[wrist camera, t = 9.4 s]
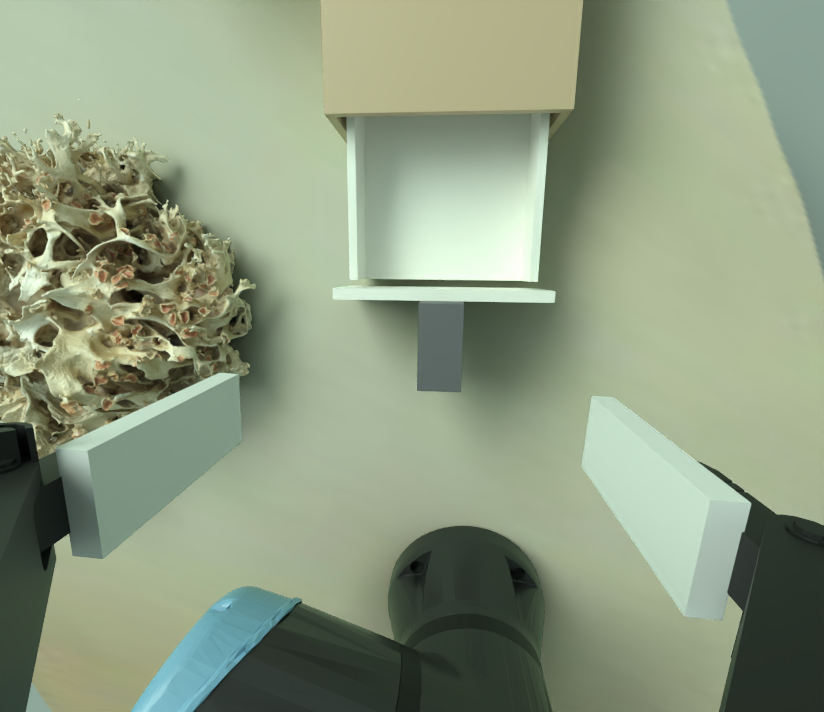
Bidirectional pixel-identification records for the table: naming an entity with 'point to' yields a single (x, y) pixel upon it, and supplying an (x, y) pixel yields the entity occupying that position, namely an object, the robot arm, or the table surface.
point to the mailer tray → (445, 219)
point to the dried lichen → (103, 289)
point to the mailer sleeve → (449, 58)
